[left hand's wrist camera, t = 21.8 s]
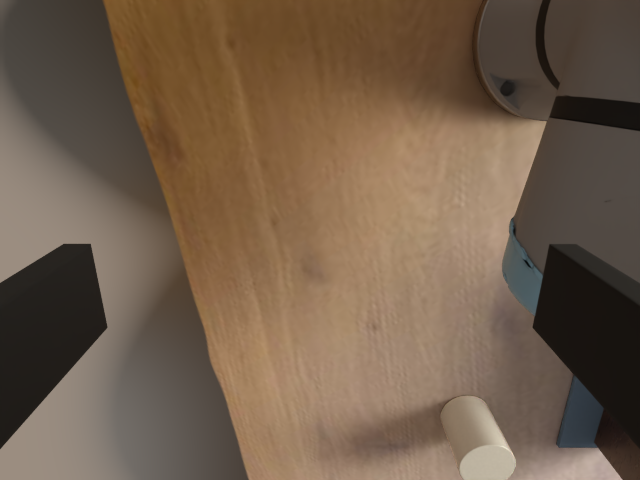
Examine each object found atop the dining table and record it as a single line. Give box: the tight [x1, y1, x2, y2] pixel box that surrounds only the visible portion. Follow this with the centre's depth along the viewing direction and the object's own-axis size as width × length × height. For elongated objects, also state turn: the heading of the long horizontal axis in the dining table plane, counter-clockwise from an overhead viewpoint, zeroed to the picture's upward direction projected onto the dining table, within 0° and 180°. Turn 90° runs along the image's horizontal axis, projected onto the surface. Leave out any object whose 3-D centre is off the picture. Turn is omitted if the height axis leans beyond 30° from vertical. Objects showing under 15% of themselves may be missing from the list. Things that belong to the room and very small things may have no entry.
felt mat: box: [557, 375, 604, 448], centre depth 52 cm, size 28×14×1 cm, turn 0°
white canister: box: [440, 395, 516, 480], centre depth 51 cm, size 6×6×8 cm
